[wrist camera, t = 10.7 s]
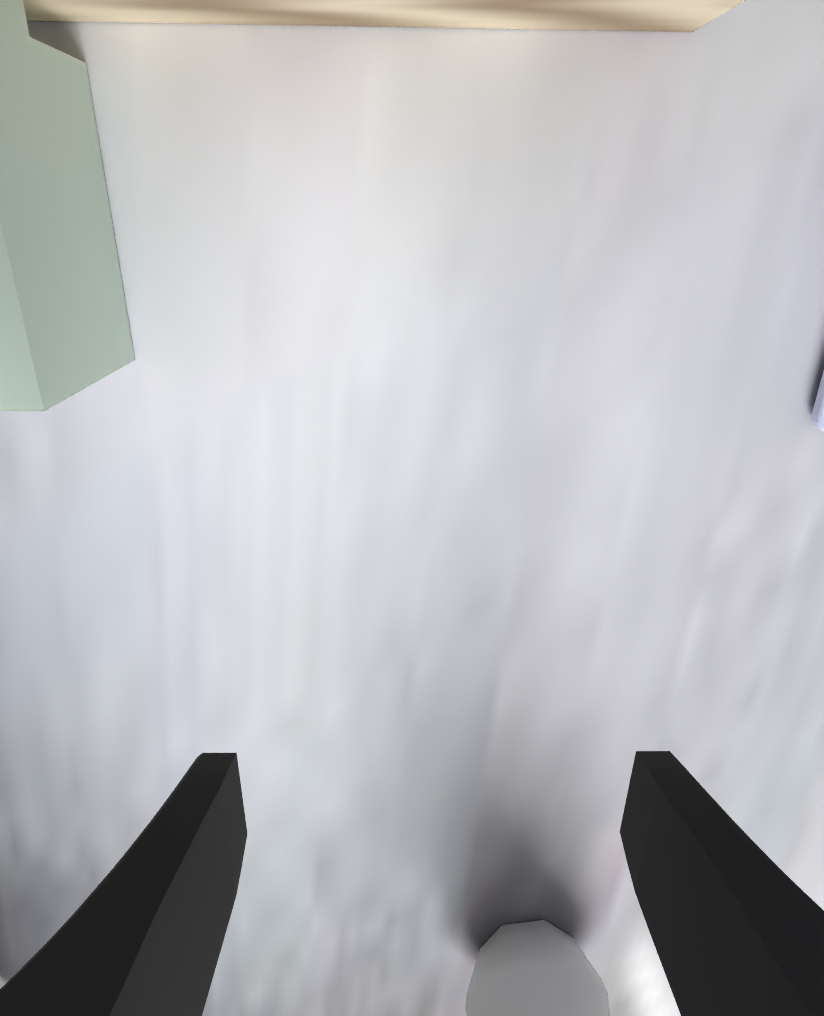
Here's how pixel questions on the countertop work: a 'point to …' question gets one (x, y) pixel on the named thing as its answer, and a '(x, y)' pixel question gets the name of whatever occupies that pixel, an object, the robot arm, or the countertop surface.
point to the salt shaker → (534, 975)
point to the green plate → (53, 229)
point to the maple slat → (397, 13)
